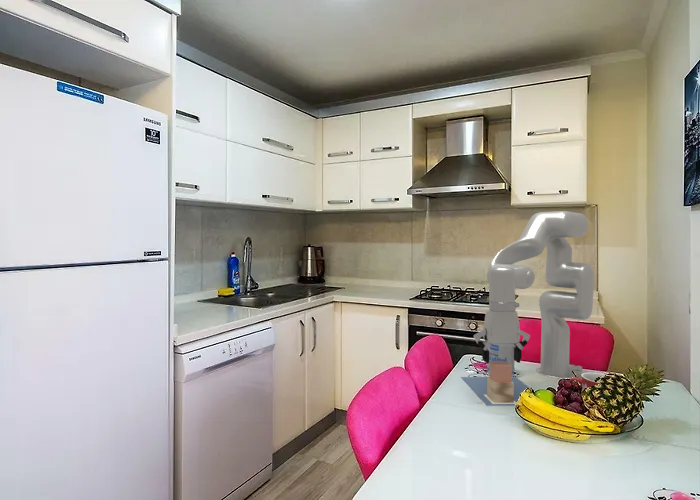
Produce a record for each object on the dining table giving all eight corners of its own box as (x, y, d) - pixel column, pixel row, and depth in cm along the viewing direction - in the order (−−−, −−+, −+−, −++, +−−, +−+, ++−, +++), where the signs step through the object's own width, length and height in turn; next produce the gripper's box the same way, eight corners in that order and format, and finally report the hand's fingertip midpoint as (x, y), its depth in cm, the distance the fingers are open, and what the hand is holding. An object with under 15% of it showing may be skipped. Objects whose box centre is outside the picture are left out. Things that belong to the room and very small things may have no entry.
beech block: (505, 395, 133) (505, 376, 133) (513, 402, 127) (513, 383, 127) (486, 395, 133) (487, 376, 132) (493, 402, 127) (494, 383, 126)
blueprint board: (515, 379, 151) (515, 376, 151) (552, 408, 125) (552, 405, 125) (460, 379, 150) (460, 376, 150) (486, 408, 124) (486, 405, 124)
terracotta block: (505, 377, 132) (505, 361, 132) (511, 382, 127) (512, 366, 127) (489, 377, 132) (489, 361, 132) (495, 382, 127) (495, 366, 127)
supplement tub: (486, 376, 154) (487, 337, 154) (487, 369, 163) (488, 331, 163) (514, 380, 151) (515, 339, 151) (514, 372, 160) (514, 334, 160)
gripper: (524, 304, 133) (523, 357, 134) (470, 305, 133) (470, 358, 133) (535, 308, 126) (534, 365, 126) (478, 309, 125) (478, 366, 126)
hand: (501, 361), depth 130 cm, fingers open, 9 cm apart
